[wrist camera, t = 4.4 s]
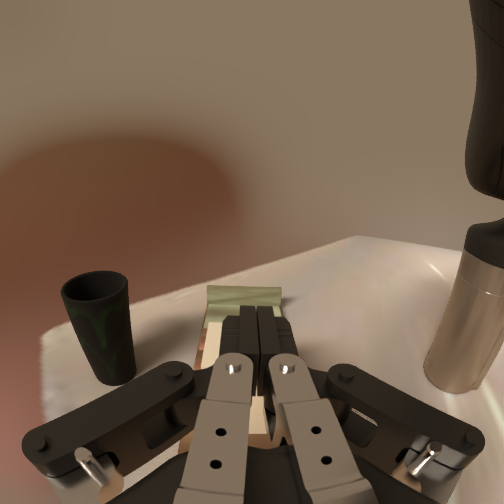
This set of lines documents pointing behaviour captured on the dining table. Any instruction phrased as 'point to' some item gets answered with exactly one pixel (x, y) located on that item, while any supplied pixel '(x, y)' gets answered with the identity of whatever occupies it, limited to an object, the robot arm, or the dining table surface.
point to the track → (218, 308)
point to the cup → (102, 323)
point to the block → (209, 359)
